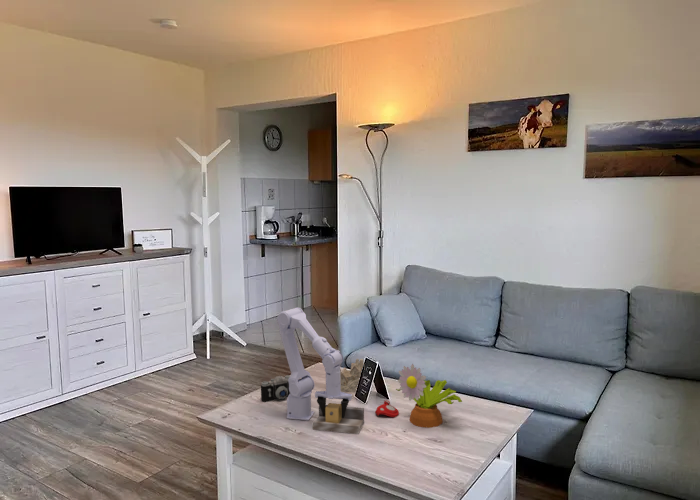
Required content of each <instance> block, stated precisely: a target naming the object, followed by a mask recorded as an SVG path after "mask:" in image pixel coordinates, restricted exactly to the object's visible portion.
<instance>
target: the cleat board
mask: <svg viewBox="0 0 700 500" xmlns="http://www.w3.org/2000/svg"><path fill="white" fill-rule="evenodd" d="M327 405H328V404H326V407H327ZM341 412H342V408H341ZM364 424H365V408H364V407H354V406H347V408H346V412H345V417H344V418H342V419H341V421H340V422H339V423H329V422H326V415H325V416H323V415H322V411H321V408H320V406H319V405H318V416H317V418H316V419H315V420H313V421H312V430H314V431H324V432H333V433H343V434H344V433H345V434H354V435H359V433H360V432H361V429H362V428H363V426H364Z"/></svg>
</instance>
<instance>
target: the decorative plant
mask: <svg viewBox="0 0 700 500" xmlns="http://www.w3.org/2000/svg"><path fill="white" fill-rule="evenodd" d="M402 368H403V369H401V370H398V374H399V375H400V376H399V379H397V382H398V383H399V386H400V388H398V389H397V388H396V389H395V391H398V392H401V393H402V394H403V398H408V401H410V402H411V401H412V400H413V401H414V402H416V403H415V404H414V408H412V410H411V412H410V416H409V422H410V423H411V424H412V425H413V426H416V427H420V428H430V429H431V428H436V427H438V426H441V425H442V424H443V423H444V421H443V415H442V413H441V411H440V409H439V408H438V404H440V403H442V402H446V403H447V404H448V405H453V403H454V401H458V403H462V402H463V401H462V399H461V397H460V396H458V395H456V394H455V393H457V391H456V390H453V389H451V388H450V387H448V388H447V389H445V390H444V387H445V386H446V385H447V383H448V382H447V379H444V380H439V379H437V380H436V381H435V383H434V386H433V387H432V388H431V380H430V379H427V376H426V375H422V374H423V373H422V372H421V368H420V367H419V368H417V367H415V365H414V363H412V364H411V366H410V367H409V366H405V365H403V367H402ZM426 379H427V380H426ZM443 390H444V391H443ZM451 394H452V395H451Z"/></svg>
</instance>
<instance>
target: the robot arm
mask: <svg viewBox="0 0 700 500" xmlns="http://www.w3.org/2000/svg"><path fill="white" fill-rule="evenodd" d="M276 321H277V324H278V330H279V331H278V332H279V336H280V338H281V339H280V340H281V343H282V346H283V349H284V354H285V357H286V359H287V363H288V367H289V370H290V372H291V373H290V377H289V379H288V382H289V391H290V394H289V395H288V397H286V398H287V399H286V419H291V420H292V419H293V420H298V421H299V420H302V421H310V419H311V418H312V417H313V415H314V414H315V411H313V410H312V397H311V396H312V393H313V390H314V388H315V380H314V379H313V377H312V375H311V373H310V371H307V370H306V368H305V367H304V364H303V361H302V356H301V354H300V351H299V347H298V343H297V340H296V337H295V334H294V333H295V330H296V329H298V330H300V331H301V333H303V334H304V335H305V336H306V337H307V338H308V339H309V341H310V342H312V343H311V347H312V348H313V349H314V350H315V352H316V353H317V354H318V355H319V356H320V358H321V359H322V360H321V363H322V366H323V367H324V371H325V390H319V391H317V390H316V391H315V392H314V398H315V399H316V402H317V404H318V407H319V406H320V408H321V411H322V415H323V416H325V415H326V410H325V408H326V405H327V399H328V400H335V399H336V400H341V401H340V404H341V408H342V418H344V417H345V412H346V408H347V407H348V406H349V402H351V401H352V400H353V394H352V393H349V392H342V391H341V377H340V369H341V365H342V363H344V362H343V361H344V356H343V354H342V352H341V351H340V350H338V349H336V348H333V347H332V345H330V343H329V342H328V340H327V338H325V337H324V336H320V335H319V334H318V333H317V332H316V330H315V329H314V328H313V326H312V324H311V323H310V322H309V321H308V319H307V314H306V313H305V312H304V310H303V309H302V308H301V307H294V308H291V309H287V310H282V311H280V312H279V314H278V315H277V318H276Z"/></svg>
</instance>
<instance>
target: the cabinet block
mask: <svg viewBox="0 0 700 500" xmlns="http://www.w3.org/2000/svg"><path fill="white" fill-rule="evenodd" d="M326 405H327V407H326V408H325V410H326V422H329V423H339V422H340V421H341V419H342V412H341V403H333V402H328V403H327V404H326Z"/></svg>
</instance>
